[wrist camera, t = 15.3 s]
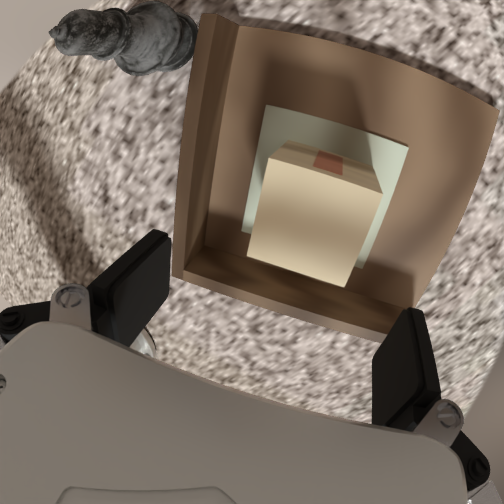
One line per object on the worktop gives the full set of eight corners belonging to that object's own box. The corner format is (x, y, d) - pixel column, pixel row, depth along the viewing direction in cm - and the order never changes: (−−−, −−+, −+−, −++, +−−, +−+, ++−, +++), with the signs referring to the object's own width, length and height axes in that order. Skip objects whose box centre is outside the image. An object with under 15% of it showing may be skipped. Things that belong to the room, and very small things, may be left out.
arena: (197, 246, 28) (171, 276, 24) (230, 26, 18) (201, 13, 14) (406, 311, 25) (412, 351, 21) (493, 109, 15) (527, 117, 11)
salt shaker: (185, 84, 21) (68, 97, 11) (130, 65, 21) (12, 76, 11) (214, 17, 18) (106, -21, 8) (153, 3, 18) (38, -19, 8)
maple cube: (288, 139, 20) (268, 156, 15) (373, 165, 19) (383, 193, 14) (269, 216, 23) (246, 256, 18) (345, 241, 22) (343, 288, 17)
